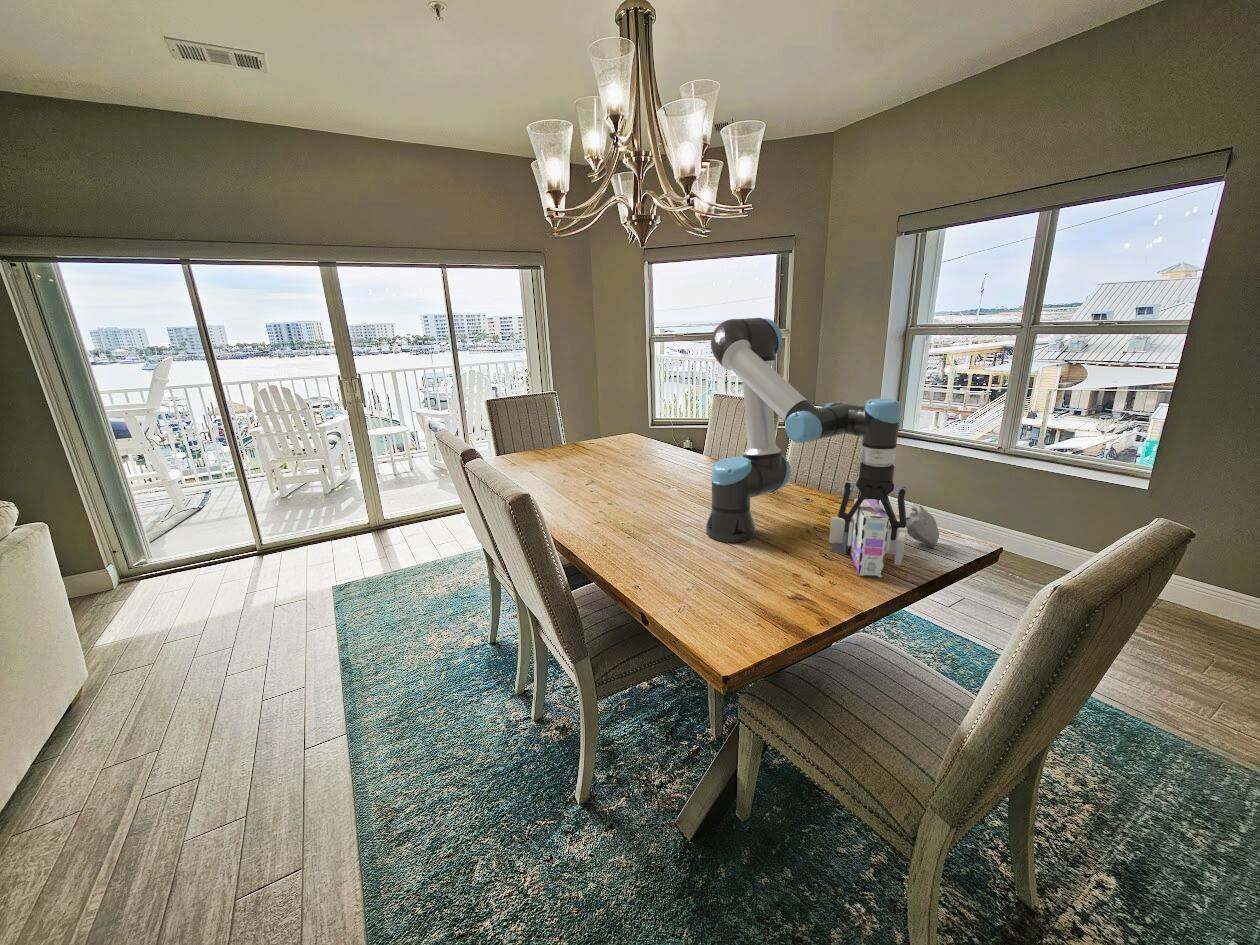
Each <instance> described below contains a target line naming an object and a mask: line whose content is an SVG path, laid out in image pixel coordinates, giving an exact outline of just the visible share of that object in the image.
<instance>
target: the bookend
mask: <svg viewBox="0 0 1260 945" xmlns="http://www.w3.org/2000/svg"><path fill="white" fill-rule="evenodd" d="M848 534H849V533H848V532H845V530H844V531H843V542H842V543H837V542H834V544H833V543H832V546H831V548H830V550H829V552H831V553H833V554H839V555H846V554H847V552H848V550H849V548H850V546H848Z"/></svg>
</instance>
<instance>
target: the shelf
mask: <svg viewBox="0 0 1260 945" xmlns="http://www.w3.org/2000/svg"><path fill="white" fill-rule="evenodd" d="M829 524H830V528H829V536H828V538H829V539H828V543H830V544H832V545H833V544H834V542H837V543H842V542H843V531H844V529H845V520H844V519H842V518H839V517H838V516H831V517H830V523H829ZM889 525H890V524H888V527H889ZM887 534H888V531H887ZM906 534H907V528H906V527H905V528H898V529H897V536H896V539H895V540H891V543H890V550H889V553H886V552H885V554H888V555H893V556H894V565H897V566H902V562H903V561H902V560H903V557H904V552H905V551H904V550H905V544H906V537H907V535H906ZM886 542H887V539H886ZM849 548H851V546H849ZM885 551H886V547H885Z"/></svg>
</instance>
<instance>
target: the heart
mask: <svg viewBox="0 0 1260 945" xmlns="http://www.w3.org/2000/svg"><path fill="white" fill-rule="evenodd" d="M910 509H911V511H913V512H911V513H910V514H909V515H910V516H909V515H908V516H906V521H907V523H906V527H905V528H907V529H906V534H908V537H911V538H912V539H913V540H916V541H918V542H921V543H923V544H925V545H926V546H929V547H931V548H935V546H936V545H937V543H938V541H939V539H940V532H939V528H938V524H937V520H936V519H935V517H934V516H933V515H932V514H930V513H929V512H928V511H927V510H926V509H924V506H922V505H918V504H914V505H912V507H911V508H910Z"/></svg>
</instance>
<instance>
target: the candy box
mask: <svg viewBox="0 0 1260 945" xmlns="http://www.w3.org/2000/svg"><path fill="white" fill-rule="evenodd" d="M857 499H858V498H854V501H853V505H854V504H855V502H856V501H857ZM852 519H854V530H853V541H852V544H851V547H850V553H849V554H850V556H851V559H852V562H853V564H854V567H855V570H856V572H857V575H858V576H861V577H870V578H871V577H872V578H883V574H884V563H885V557H886V556H885V555H886V553H885V547H886V539H887V531H888V525H889V523H890V522H889V517H888V516H887V514H886V511H885V509H884V507H883V506H882V504H880V503H879V500H875V499H866V498H865V499H864V500H863V502H862V503H861V505H860V506H859V508H858V509H857V511H856V512H855V514H854V515H853V517H852Z"/></svg>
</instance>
